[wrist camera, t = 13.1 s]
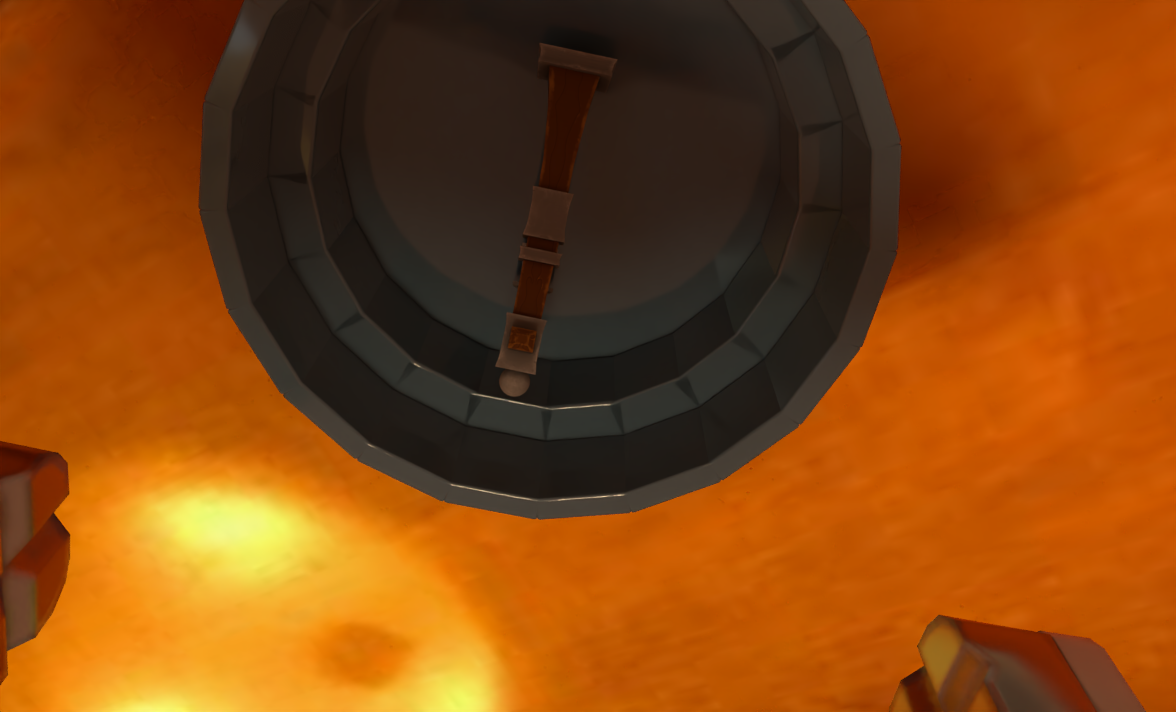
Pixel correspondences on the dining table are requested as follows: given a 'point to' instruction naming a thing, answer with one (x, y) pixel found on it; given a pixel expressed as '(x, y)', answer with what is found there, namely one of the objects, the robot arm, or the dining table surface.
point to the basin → (589, 255)
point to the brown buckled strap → (549, 203)
